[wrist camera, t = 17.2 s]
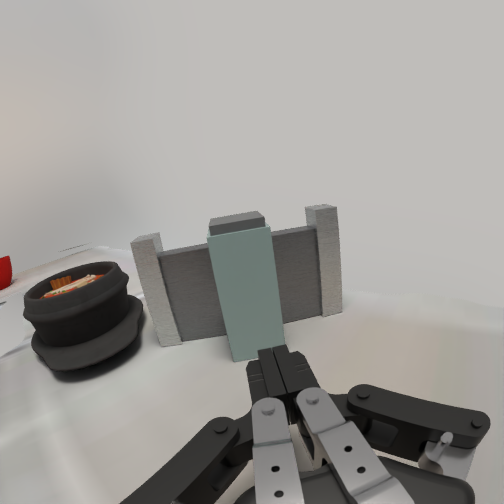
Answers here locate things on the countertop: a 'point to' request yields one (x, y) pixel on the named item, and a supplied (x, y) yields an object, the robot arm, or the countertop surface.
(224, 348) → the countertop surface
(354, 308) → the countertop surface
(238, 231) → the block
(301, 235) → the grey wall block
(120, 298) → the casserole
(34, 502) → the countertop surface
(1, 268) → the ceramic cup
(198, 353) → the countertop surface
